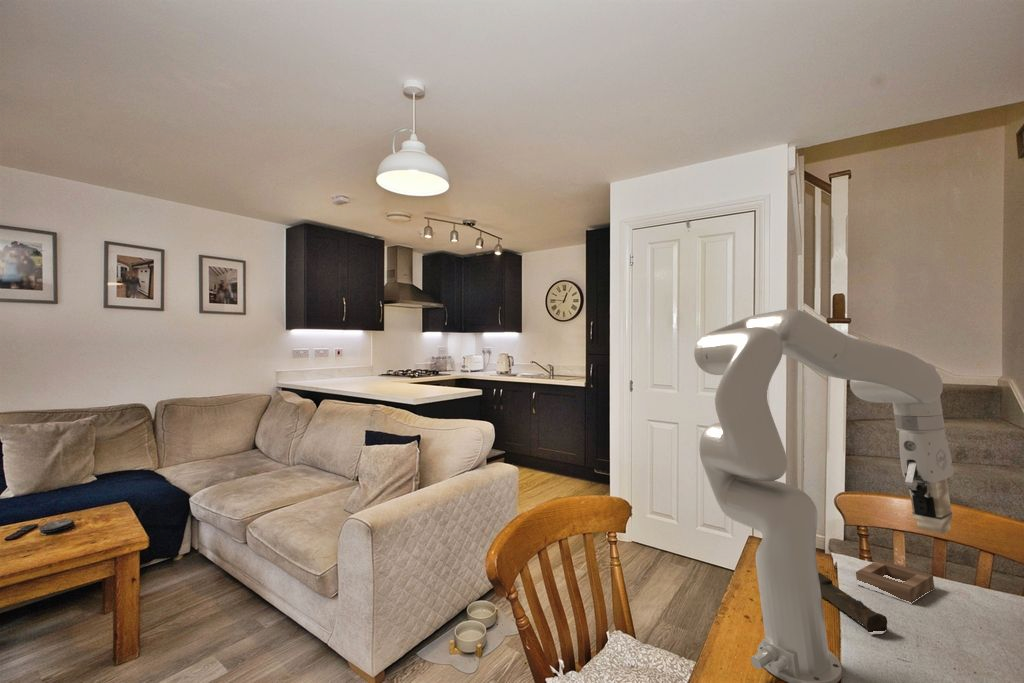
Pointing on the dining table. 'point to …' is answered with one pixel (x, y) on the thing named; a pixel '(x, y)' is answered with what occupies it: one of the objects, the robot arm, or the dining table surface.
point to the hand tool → (851, 606)
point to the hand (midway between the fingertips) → (931, 511)
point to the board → (907, 590)
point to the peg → (936, 509)
